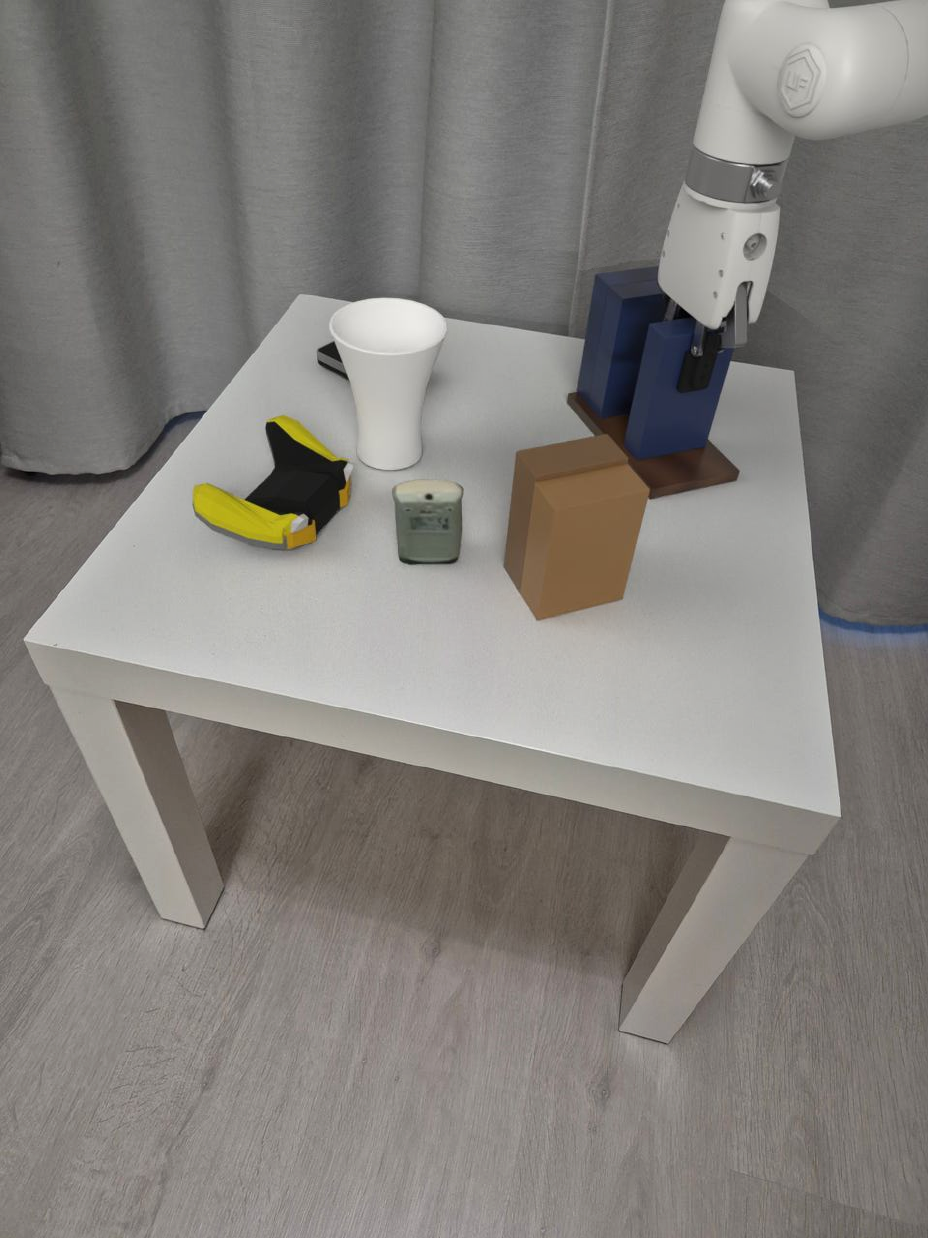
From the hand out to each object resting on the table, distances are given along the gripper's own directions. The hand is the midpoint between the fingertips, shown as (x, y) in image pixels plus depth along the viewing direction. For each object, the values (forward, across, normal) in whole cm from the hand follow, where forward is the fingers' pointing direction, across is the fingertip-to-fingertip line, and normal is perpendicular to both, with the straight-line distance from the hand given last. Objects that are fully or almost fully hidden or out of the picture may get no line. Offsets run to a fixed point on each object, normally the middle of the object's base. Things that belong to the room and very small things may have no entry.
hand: (682, 378), depth 83 cm
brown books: (+9, -14, +18) cm, 25 cm away
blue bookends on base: (+9, +3, 0) cm, 9 cm away
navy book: (+8, 0, 0) cm, 8 cm away
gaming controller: (+9, +3, +38) cm, 39 cm away
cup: (+9, +9, +26) cm, 29 cm away
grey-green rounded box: (+9, -7, +28) cm, 30 cm away
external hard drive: (+9, +24, +23) cm, 34 cm away
